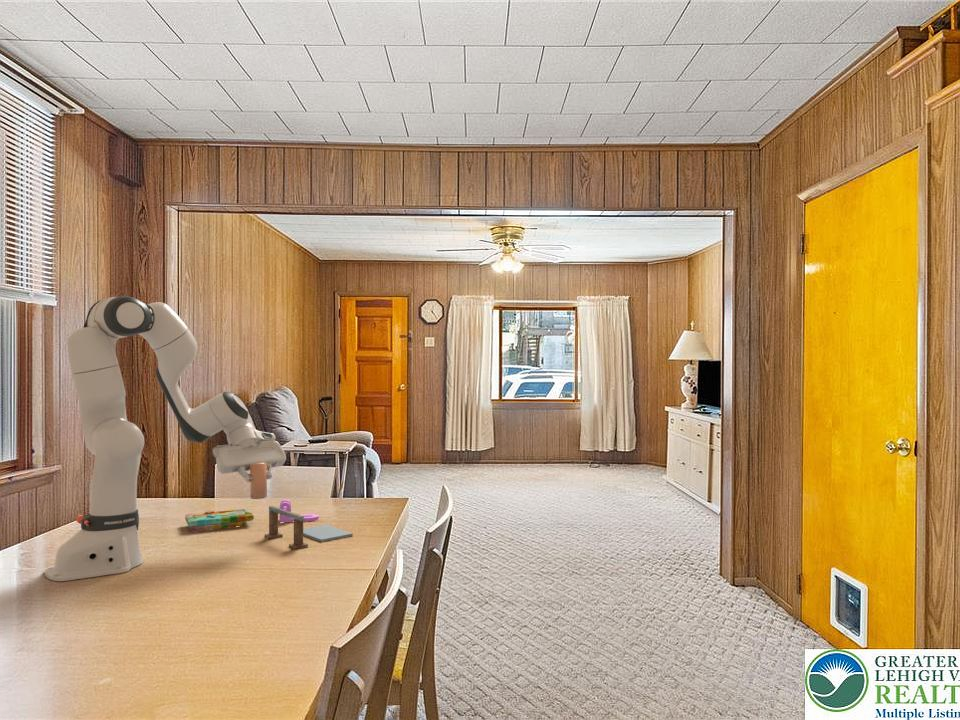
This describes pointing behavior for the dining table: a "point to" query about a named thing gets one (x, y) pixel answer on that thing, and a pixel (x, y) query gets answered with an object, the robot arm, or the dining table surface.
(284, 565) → the dining table surface
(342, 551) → the dining table surface
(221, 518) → the puzzle game
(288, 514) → the metal bar
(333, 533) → the pad
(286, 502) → the bracket
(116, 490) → the robot arm
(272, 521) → the hurdle posts
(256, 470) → the terracotta cylinder
